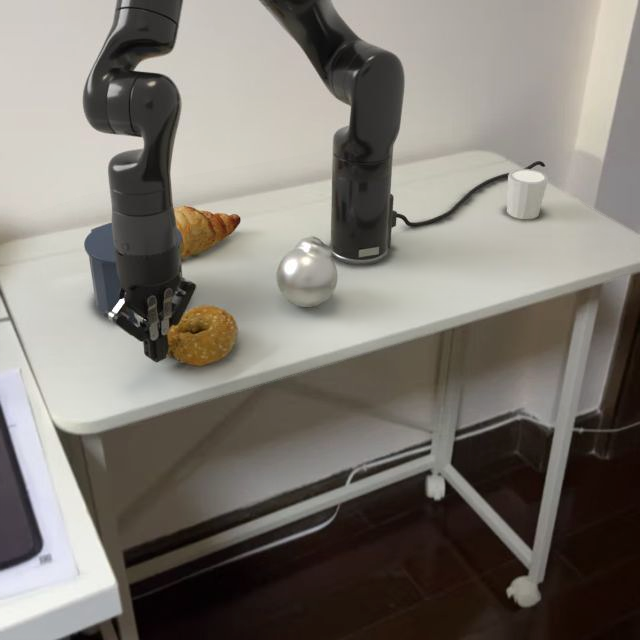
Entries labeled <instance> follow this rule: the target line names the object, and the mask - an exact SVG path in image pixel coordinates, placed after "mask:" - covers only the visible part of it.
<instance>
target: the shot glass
mask: <svg viewBox="0 0 640 640" xmlns="http://www.w3.org/2000/svg"><path fill="white" fill-rule="evenodd" d="M508 173H509V175H508V177H507V196H506V197H507V198H506V199H507V200H506V213H507V214H508V215H509V216H511V217H512V218H515V219H520V220H532V219H536V218H537V217H539V215H540V211H541V207H542V203H543V200H544V196H545V192H546V188H547V185H548V181H549V176H548V175H547V174H546V173H544V172H542V171H540V170H536V169H532V168H531V169H524V168H519V169H513V170H511V171H509V172H508Z"/></svg>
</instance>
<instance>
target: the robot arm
mask: <svg viewBox="0 0 640 640" xmlns="http://www.w3.org/2000/svg"><path fill="white" fill-rule="evenodd" d="M258 1H259V3H260V4H261V5H262V6H263V7H264V9H265V10H266V11H267V12H268V13H269V14H270V15H271V16H272V18H274V20H275V21H276V22H277V23H278V25H279V26H280V27H281V28H282V29H283V31H285V32H286V33H287V34H288V35H289V36H290V38H292V40H294V42H295V43H296V44H297V45H298V46H299V47H300V49H301V51H302V52H303V53H304V55H305V56H306V58H307V59H308V61H309V62H310V64H311V65H312V67H313V68H314V70H315V72H316V73H317V75H318V77H319V78H320V80H321V81H322V83H323V85H324V86H325V88H326V89H327V90H328V92H329V93H330V94H331V95H332V96H333V97H334V98H335V99H337V100H338V101H340V102H341V103H342V104H345V105H348V107H349V106H350V112H349V124H348V125H346V126H343V127H340V128H338V129H337V130H336V131H335V132H334V134H333V137H332V164H331V167H332V168H331V205H330V206H331V207H330V211H331V213H330V244H329V247H330V249H331V251H332V254H331V257H332V258H334V259H336V260H338V261H339V262H342V263H345V264H349V265H371V264H376V263H378V262H380V261H382V260H384V259H385V258H386V257H387V255H388V250H390V249H391V245H392V229H393V228H394V227H397V219H401V220H402V221H403V222H404V223H405V225H406V226H408V227H412V228H416V227H417V228H418V227H423V226H427V225H431V224H434V223H436V222H439V221H442V220H443V219H447V218H448V217H450V216H451V215H452V214H453V213H455V211H457V210H458V209H459V207H460V206H461V205H462V204H464V203H465V202H466V201H467V200H468V199H469V198H470V197H471V196H472V195H473V194H474V193H476V192H477V191H479V190H480V189H482V188H483V187H485V186H487V185H489V184H491V183H494V182H496V181H499V180H503V179H506V178H508V175H509V173H510V172H507V173H503V174H500V175H497V176H496V175H495V176H494V177H492V178H489V179H487V180H484V181H483V182H481V183H480V184H478V185H476V186H475V187H473V188H472V189H471V190H470V191H468V192H467V193H466V194H465V195H464V196H462V198H461V199H460V200H459V201H457V203H456V204H455V205H453V207H452V208H451V209H450V210H448V211H446V212H445V213H443V214H441V215H438V216H436V217H434V218H431V219H428V220H424V221H419V222H418V221H417V222H411V221H410V220H409V219H408V218H407V216H406V215H404V214H401V213H399V212H398V211H397V210H394V199H395V198H394V194H393V193H392V192H391V191H392V175H393V157H394V147H395V143H396V141H397V138H398V136H399V134H400V130H401V121H402V115H403V114H402V113H403V107H404V106H403V104H404V96H405V89H406V88H405V87H406V86H405V85H406V77H405V70H404V65H403V62H402V61H401V59H400V58H399V57H398V55H397V54H395V53H394V52H392V51H390V50H388V49H384V48H383V47H380V46H377V45H374V44H372V43H370V42H368V41H366V40H364V39H362V38H361V36H359V35H358V34H356V32H355V31H354V30H352V28H351V27H350V26H349V25H348V23H346V21H345V20H344V19H343V17H342V16H341V15H340V14H339V12H338V10H337V9H336V8H335V6H334V4H333V1H332V0H258ZM183 5H184V0H116V3H115V7H114V14H113V20H112V24H111V28H110V29H109V31H108V34H107V35H106V38H105V40H104V42H103V45H102V47H101V49H100V51H99V53H98V55H97V57H96V59H95V61H94V62H93V65H92V67H91V69H90V70H89V73H88V76H87V78H86V79H85V83H84V87H83V90H82V91H83V92H82V109H83V114H84V117H85V119H86V120H87V123H88V124H89V125H90V127H91V128H92V129H94V130H96V131H97V132H99V133H103V134H109V135H116V136H125V137H127V136H128V137H134V138H142V140H143V148H136V149H130V150H125V151H122V152H120V153H117V154H115V155H113V157H111V159H110V160H109V162H108V166H107V177H108V178H107V179H108V187H109V194H110V204H111V222H112V232H113V241H114V249H115V258H116V266H117V274H118V277H119V280H120V283H121V287H120V290H119V294H118V296H119V299H120V300H119V302H118V303H117V305H116V306H115V307H114V309H113V310H112V309H107V310H106V311H105V314H104V315H105V316H104V315H103V316H104V317H105V318H106V319H107V320H109V321H110V322H112V323H113V324H114V325H116V326H117V327H119V328H120V329H121V330H122V331H124V332H126V333H127V334H128V335H130V336H131V337H133V338H135V339H136V340H137V341H139V342H141V343H142V344H143V345H142V346H143V352H144V355H145V357H147V358H148V359H150V360H151V361H152V362H154V363H160V362H161V361H164V360H165V359H167V357H168V355H167V354H166V353H168V349H169V348H168V337H167V334H168V332H169V328H170V327H171V326H173V325H174V326H176V325H178V324H179V322H180V320H181V318H182V316H183V315H184V314H185V313H186V310H187V307H188V305H189V304H190V302H191V299H192V297H193V295H194V293H195V292H196V289H197V285H196V284H195V283H194V282H192V281H190V280H189V279H186V277H181V276H180V274H179V273H178V272H179V268H180V267H179V253H178V240H177V226H176V217H175V213H174V209H173V208H174V202H173V189H172V177H171V169H172V160H173V153H174V147H175V141H176V136H177V133H178V127H179V123H180V120H181V115H182V108H183V106H182V105H183V103H182V102H183V101H182V95H181V93H180V90H179V87H177V85H176V83H175V81H174V80H173V79H172V78H171V77H170V76H168V75H166V74H164V73H160V72H150V71H142V70H141V71H140V70H136V69H137V67H138V66H139V65H140V63H142V62H144V61H146V60H149V59H155V58H161V57H165V56H167V55H169V54H171V53H172V52H173V51H174V49H175V47H176V44H177V39H178V33H179V28H180V22H181V17H182V11H183ZM536 166H541V167H542V168H544V167H546V164H545V163H544V162H543V161H541V160H537V161H534V162H532V163H531V164H529V165H528V166H526V167H524V168H523V169H531V170H532V169H533V168H534V167H536ZM175 305H176V306H177V307H176V309H175V311H174V312H173V313H172V311H173V309H174V307H175ZM128 308H129V309H130V310H132V311H133V312H134V316H135V318H136V319H137V321H138V323H137V325H135V324H134V323H131V322H130V321H129V320H130V316H129V313H128V311H127V309H128Z"/></svg>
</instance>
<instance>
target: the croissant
mask: <svg viewBox="0 0 640 640" xmlns="http://www.w3.org/2000/svg"><path fill="white" fill-rule="evenodd" d="M173 209H174V213H175V217H176V226H177V228H178V229H179V231H180V232H181V234H182V243H181V246H180V252H181V260H183V259H185V258H186V257H189V256H194V255H198V254H200V253H202V252H205V251H207V250H209V249H210V248H212V247H213V246H215V245H216V244H218V243H219V242H221V241H223V240H224V239H226V238H228V237H229V236H231V235H232V234H233V233H234V232H235V230H236V229H237V228H238V226H239V225H240V224H241V221H242V220H241V216H239V215H238V214H236V213H232V214H229V215H228V214H227V213H225V212H224V213H223V212H215V213H213V212H211V211H208V210H199V209H197V208H195V207H193V206H186V205H182V206H174V207H173Z"/></svg>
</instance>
